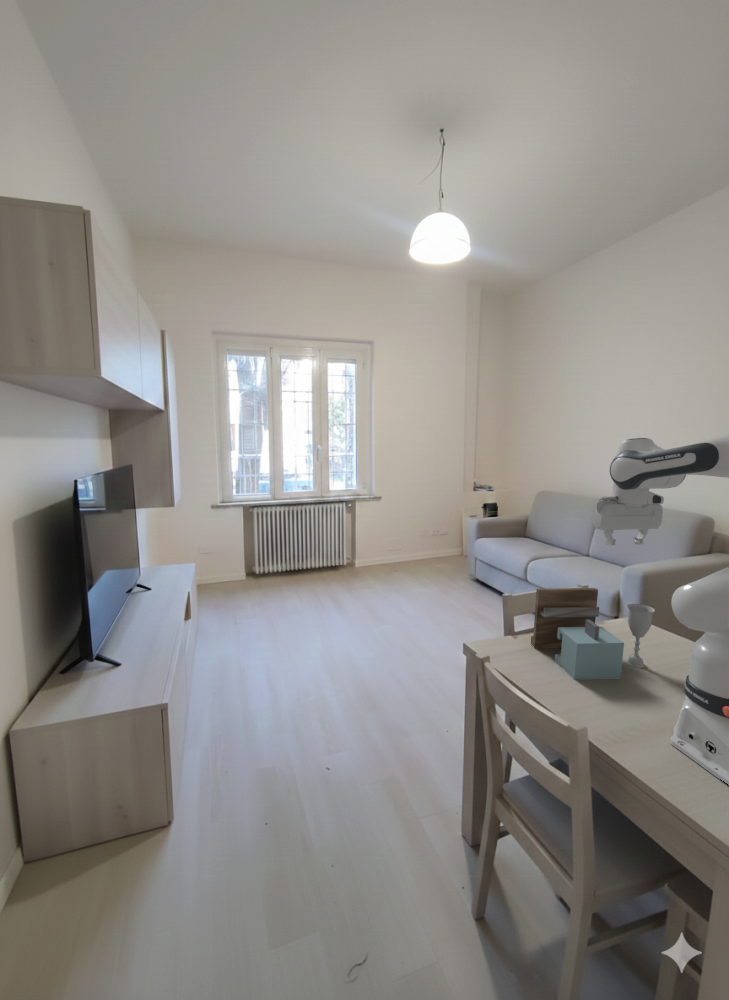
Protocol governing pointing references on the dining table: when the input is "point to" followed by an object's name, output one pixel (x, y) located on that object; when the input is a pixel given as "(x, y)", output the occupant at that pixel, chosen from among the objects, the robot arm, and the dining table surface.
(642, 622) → the chalice
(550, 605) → the wall board
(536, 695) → the dining table surface
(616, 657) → the cabinet
